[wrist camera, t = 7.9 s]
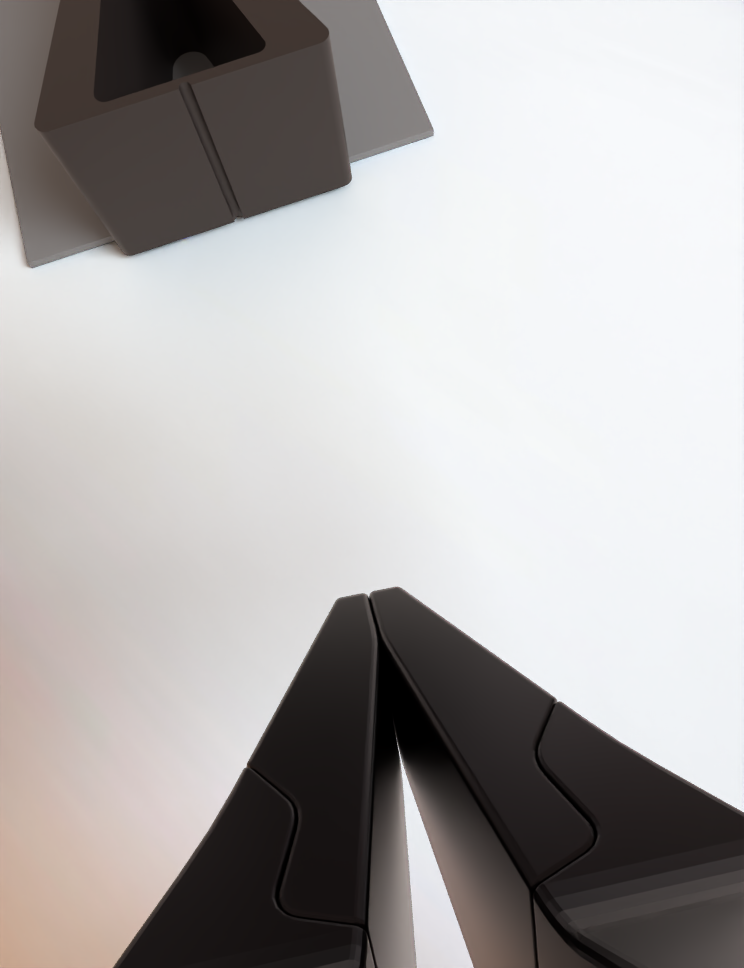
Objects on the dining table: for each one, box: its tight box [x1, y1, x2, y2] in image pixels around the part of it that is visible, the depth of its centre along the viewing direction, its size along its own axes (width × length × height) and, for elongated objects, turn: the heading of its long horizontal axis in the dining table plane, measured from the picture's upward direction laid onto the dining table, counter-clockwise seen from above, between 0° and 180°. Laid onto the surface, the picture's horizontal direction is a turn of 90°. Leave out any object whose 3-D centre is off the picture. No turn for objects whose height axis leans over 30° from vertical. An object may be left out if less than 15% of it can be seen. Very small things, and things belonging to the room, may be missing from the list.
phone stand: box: [34, 0, 352, 255], centre depth 25 cm, size 9×6×12 cm
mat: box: [0, 0, 433, 268], centre depth 29 cm, size 18×16×1 cm
